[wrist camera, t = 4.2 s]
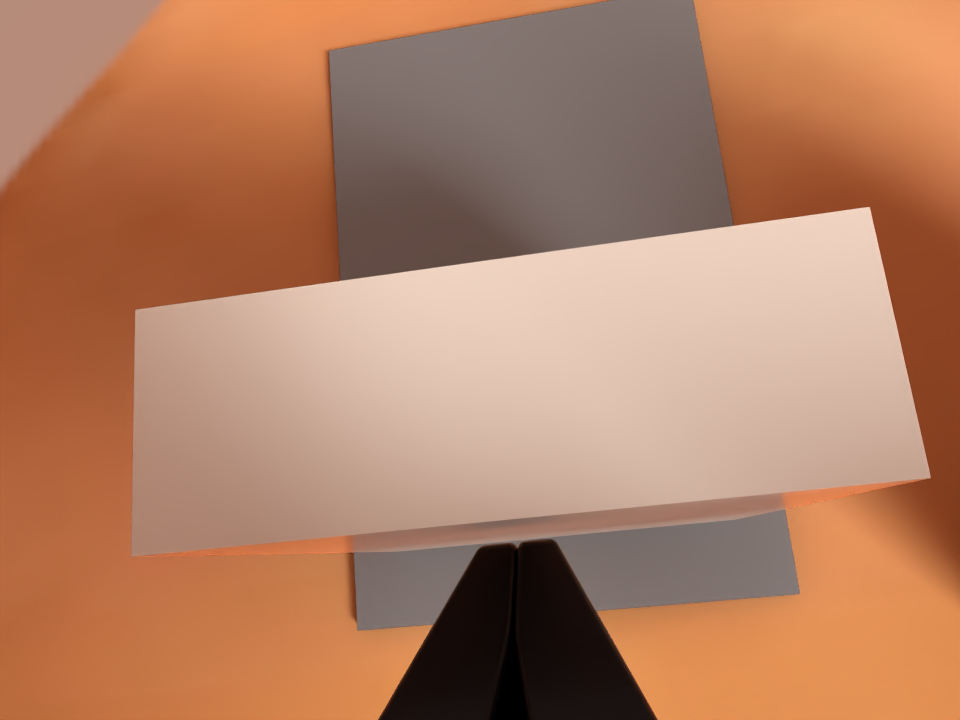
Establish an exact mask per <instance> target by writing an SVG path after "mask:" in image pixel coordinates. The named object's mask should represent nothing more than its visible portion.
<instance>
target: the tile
mask: <svg viewBox="0 0 960 720" xmlns="http://www.w3.org/2000/svg"><path fill="white" fill-rule="evenodd" d="M929 478H931V476H930V471H929V467H928V462H927V458H926V453H925V449H924V445H923V440H922V436H921V431H920V427H919V423H918V418H917V414H916V409H915V405H914V400H913V396H912V392H911V387H910V383H909V378H908V374H907V370H906V365H905V361H904V356H903V352H902V348H901V343H900V339H899V334H898V330H897V325H896V321H895V317H894V312H893V308H892V303H891V299H890V295H889V290H888V286H887V281H886V277H885V272H884V268H883V264H882V259H881V255H880V250H879V246H878V242H877V237H876V233H875V228H874V224H873V219H872V215H871V211H870V207H865V208H858V209H851V210H844V211H837V212H829V213H822V214H815V215H808V216H801V217H794V218H787V219H779V220H772V221H765V222H758V223H751V224H744V225H737V226H729V227H722V228H715V229H708V230H701V231H694V232H687V233H679V234H672V235H665V236H658V237H651V238H644V239H637V240H629V241H622V242H615V243H608V244H601V245H594V246H587V247H580V248H572V249H565V250H558V251H551V252H544V253H537V254H530V255H522V256H515V257H508V258H501V259H494V260H487V261H480V262H472V263H465V264H458V265H451V266H444V267H437V268H430V269H422V270H415V271H408V272H401V273H394V274H387V275H380V276H372V277H365V278H358V279H351V280H344V281H337V282H330V283H323V284H315V285H308V286H301V287H294V288H287V289H280V290H273V291H265V292H258V293H251V294H244V295H237V296H230V297H223V298H215V299H208V300H201V301H194V302H187V303H180V304H173V305H165V306H158V307H151V308H144V309H137V310H135V356H134V416H133V477H132V537H131V557H144V556H196V555H248V554H300V553H351V552H400V551H411V550H421V549H432V548H442V547H453V546H463V545H474V544H485V543H495V542H506V541H516V540H527V539H537V538H548V537H558V536H569V535H579V534H590V533H600V532H611V531H621V530H632V529H643V528H653V527H664V526H674V525H685V524H695V523H706V522H716V521H727V520H736V519H741V518H746V517H750V516H755V515H760V514H764V513H769V512H774V511H779V510H783V509H788V508H793V507H797V506H802V505H807V504H811V503H816V502H821V501H826V500H830V499H835V498H840V497H844V496H849V495H854V494H859V493H863V492H868V491H873V490H877V489H882V488H887V487H891V486H896V485H901V484H906V483H910V482H915V481H920V480H924V479H929Z"/></svg>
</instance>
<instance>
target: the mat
mask: <svg viewBox="0 0 960 720" xmlns="http://www.w3.org/2000/svg"><path fill="white" fill-rule="evenodd" d="M329 64H330V84H331V104H332V124H333V145H334V165H335V185H336V205H337V225H338V245H339V266H340V281H344V280H351V279H358V278H365V277H372V276H380V275H387V274H394V273H401V272H408V271H415V270H422V269H430V268H437V267H444V266H451V265H458V264H465V263H472V262H480V261H487V260H494V259H501V258H508V257H515V256H522V255H530V254H537V253H544V252H551V251H558V250H565V249H572V248H580V247H587V246H594V245H601V244H608V243H615V242H622V241H629V240H637V239H644V238H651V237H658V236H665V235H672V234H679V233H687V232H694V231H701V230H708V229H715V228H722V227H729V226H734V224H733V219H732V213H731V207H730V202H729V196H728V191H727V185H726V180H725V174H724V169H723V163H722V158H721V152H720V146H719V141H718V135H717V130H716V124H715V119H714V113H713V108H712V102H711V97H710V91H709V85H708V80H707V74H706V69H705V63H704V58H703V52H702V47H701V41H700V36H699V30H698V24H697V19H696V13H695V8H694V2H693V0H611V1H606V2H600V3H594V4H589V5H583V6H577V7H572V8H566V9H561V10H555V11H549V12H544V13H538V14H532V15H527V16H521V17H516V18H510V19H504V20H499V21H493V22H488V23H482V24H476V25H471V26H465V27H459V28H454V29H448V30H443V31H437V32H431V33H426V34H420V35H415V36H409V37H403V38H398V39H392V40H386V41H381V42H375V43H370V44H364V45H358V46H353V47H347V48H342V49H336V50H330V51H329ZM542 539H553V540H555V541H556V542H557V543H558V545H559V547H560V548H561V550H562V552H563V554H564V555H565V557H566V559H567V561H568V562H569V564H570V566H571V568H572V569H573V571H574V573H575V575H576V577H577V578H578V580H579V582H580V584H581V585H582V587H583V589H584V591H585V592H586V594H587V596H588V598H589V599H590V601H591V603H592V605H593V607H594V608H595V610H596V611H601V610H613V609H626V608H638V607H650V606H662V605H674V604H686V603H698V602H710V601H722V600H734V599H746V598H759V597H771V596H783V595H795V594H800V590H799V585H798V579H797V573H796V568H795V562H794V557H793V551H792V546H791V540H790V535H789V529H788V524H787V518H786V512H785V509H783V510H779V511H774V512H769V513H764V514H760V515H755V516H750V517H746V518H741V519H736V520H727V521H716V522H706V523H695V524H685V525H674V526H664V527H653V528H643V529H632V530H621V531H611V532H600V533H590V534H579V535H569V536H558V537H548V538H537V539H527V540H516V541H506V542H495V543H485V544H474V545H463V546H453V547H442V548H432V549H421V550H411V551H400V552H354V568H355V588H356V608H357V628H358V631H359V630H372V629H384V628H396V627H408V626H420V625H432V624H434V623H435V621H436V620H437V618H438V616H439V614H440V613H441V611H442V609H443V608H444V606H445V604H446V602H447V601H448V599H449V597H450V596H451V594H452V592H453V590H454V589H455V587H456V585H457V584H458V582H459V580H460V578H461V577H462V575H463V573H464V572H465V570H466V568H467V566H468V565H469V563H470V561H471V559H472V558H473V556H474V554H475V553H476V551H477V550H478V549H479V548H480V547H481V546H483V545H491V544H501V543H513V544H515V545H516V546H517V547H518V546H519V544H520V543H521V542H523V541H532V540H542Z"/></svg>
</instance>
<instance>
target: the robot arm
mask: <svg viewBox="0 0 960 720" xmlns="http://www.w3.org/2000/svg"><path fill="white" fill-rule="evenodd" d="M378 720H658V719H657V718H656V716H655V714H654V712H653V711H652V709H651V707H650V705H649V704H648V702H647V700H646V698H645V697H644V695H643V693H642V691H641V689H640V688H639V686H638V684H637V682H636V681H635V679H634V677H633V675H632V674H631V672H630V670H629V668H628V667H627V665H626V663H625V661H624V659H623V658H622V656H621V654H620V652H619V651H618V649H617V647H616V645H615V644H614V642H613V640H612V638H611V637H610V635H609V633H608V631H607V629H606V628H605V626H604V624H603V622H602V621H601V619H600V617H599V615H598V614H597V612H596V610H595V608H594V607H593V605H592V603H591V601H590V599H589V598H588V596H587V594H586V592H585V591H584V589H583V587H582V585H581V584H580V582H579V580H578V578H577V577H576V575H575V573H574V571H573V569H572V568H571V566H570V564H569V562H568V561H567V559H566V557H565V555H564V554H563V552H562V550H561V548H560V547H559V545H558V543H557V542H556V541H555V540H553V539H542V540H532V541H523V542H521V543H520V544H519V546H518V547H517V546H516V545H515V544H513V543H501V544H491V545H483V546H481V547H480V548H479V549H478V550H477V551H476V553H475V554H474V556H473V558H472V559H471V561H470V563H469V565H468V566H467V568H466V570H465V572H464V573H463V575H462V577H461V578H460V580H459V582H458V584H457V585H456V587H455V589H454V590H453V592H452V594H451V596H450V597H449V599H448V601H447V602H446V604H445V606H444V608H443V609H442V611H441V613H440V614H439V616H438V618H437V620H436V621H435V623H434V625H433V626H432V628H431V630H430V632H429V633H428V635H427V637H426V639H425V640H424V642H423V644H422V645H421V647H420V649H419V651H418V652H417V654H416V656H415V657H414V659H413V661H412V663H411V664H410V666H409V668H408V669H407V671H406V673H405V675H404V676H403V678H402V680H401V681H400V683H399V685H398V687H397V688H396V690H395V692H394V693H393V695H392V697H391V699H390V700H389V702H388V704H387V706H386V707H385V709H384V711H383V712H382V714H381V716H380V718H379V719H378Z"/></svg>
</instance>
